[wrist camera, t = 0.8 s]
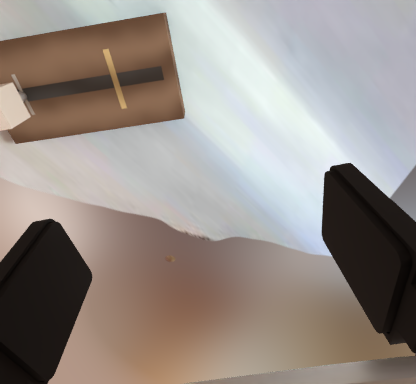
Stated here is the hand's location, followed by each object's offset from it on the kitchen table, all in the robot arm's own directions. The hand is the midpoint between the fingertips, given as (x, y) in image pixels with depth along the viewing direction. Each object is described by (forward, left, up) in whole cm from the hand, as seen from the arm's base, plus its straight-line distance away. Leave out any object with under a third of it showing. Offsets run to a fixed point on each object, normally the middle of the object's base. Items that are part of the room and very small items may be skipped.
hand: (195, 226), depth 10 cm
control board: (-1, -15, -32) cm, 35 cm away
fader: (-1, -22, -28) cm, 36 cm away
